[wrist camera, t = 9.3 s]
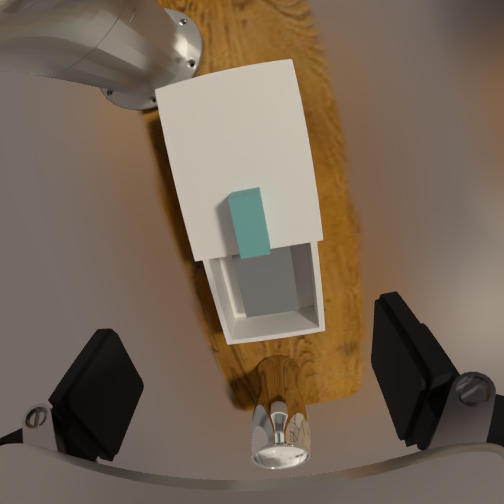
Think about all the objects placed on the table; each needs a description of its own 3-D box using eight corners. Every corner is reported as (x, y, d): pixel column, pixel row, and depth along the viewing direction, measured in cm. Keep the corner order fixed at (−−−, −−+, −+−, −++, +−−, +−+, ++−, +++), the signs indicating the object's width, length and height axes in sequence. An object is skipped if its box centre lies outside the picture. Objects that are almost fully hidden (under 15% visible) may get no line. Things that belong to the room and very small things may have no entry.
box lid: (156, 90, 22) (141, 84, 19) (291, 60, 21) (295, 48, 17) (196, 259, 28) (187, 275, 24) (322, 238, 26) (329, 252, 23)
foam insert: (233, 244, 32) (231, 253, 30) (287, 235, 31) (289, 243, 29) (247, 306, 35) (246, 317, 33) (296, 298, 34) (299, 309, 32)
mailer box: (199, 195, 31) (188, 205, 26) (301, 176, 30) (308, 183, 25) (231, 319, 36) (227, 344, 32) (318, 306, 35) (325, 330, 31)
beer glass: (260, 388, 41) (258, 472, 27) (248, 357, 39) (241, 448, 25) (305, 380, 40) (315, 465, 26) (297, 348, 38) (308, 440, 24)
